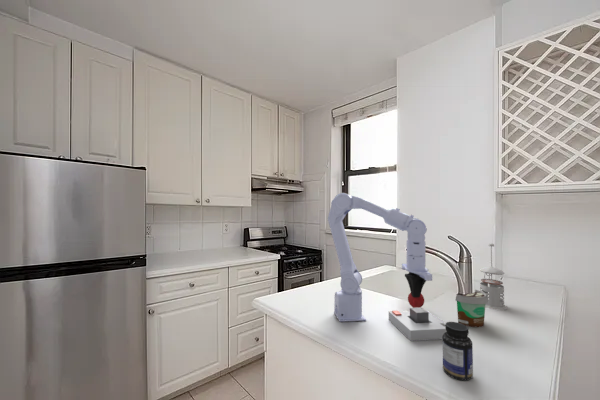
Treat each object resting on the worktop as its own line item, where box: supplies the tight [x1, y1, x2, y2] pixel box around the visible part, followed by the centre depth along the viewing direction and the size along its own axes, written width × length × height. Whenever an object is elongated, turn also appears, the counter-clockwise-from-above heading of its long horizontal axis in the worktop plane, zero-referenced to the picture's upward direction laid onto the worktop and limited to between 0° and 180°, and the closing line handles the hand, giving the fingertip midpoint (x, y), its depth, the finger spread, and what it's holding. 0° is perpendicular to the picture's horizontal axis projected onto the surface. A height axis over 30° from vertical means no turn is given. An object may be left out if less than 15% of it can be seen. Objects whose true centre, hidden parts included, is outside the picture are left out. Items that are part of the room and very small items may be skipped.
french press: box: [479, 242, 508, 311], centre depth 105 cm, size 10×12×25 cm
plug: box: [409, 307, 430, 323], centre depth 83 cm, size 4×4×6 cm
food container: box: [455, 289, 489, 328], centre depth 87 cm, size 12×6×10 cm, turn 118°
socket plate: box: [388, 309, 447, 342], centre depth 83 cm, size 14×14×4 cm
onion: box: [407, 292, 425, 308], centre depth 99 cm, size 6×6×8 cm
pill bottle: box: [441, 321, 474, 381], centre depth 61 cm, size 6×6×11 cm
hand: (415, 296), depth 84 cm, fingers closed
